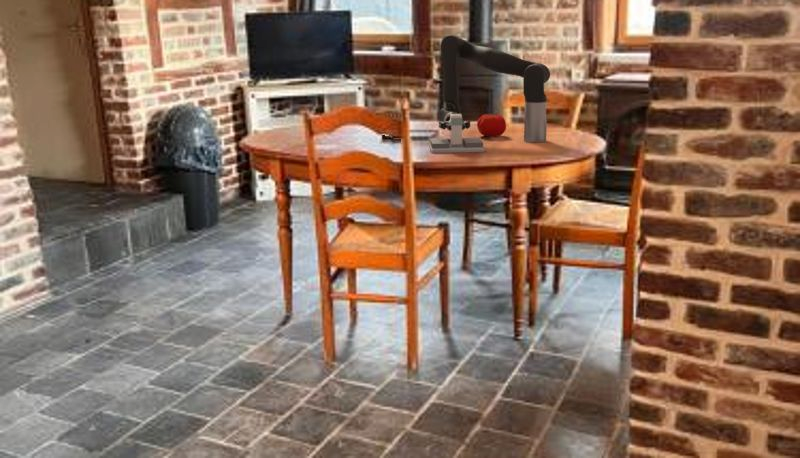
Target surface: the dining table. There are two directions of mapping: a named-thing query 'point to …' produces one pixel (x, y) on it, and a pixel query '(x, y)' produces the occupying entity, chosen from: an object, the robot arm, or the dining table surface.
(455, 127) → the grey module
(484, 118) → the tomato
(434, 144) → the rack board
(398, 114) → the ammunition clip
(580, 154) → the dining table surface
